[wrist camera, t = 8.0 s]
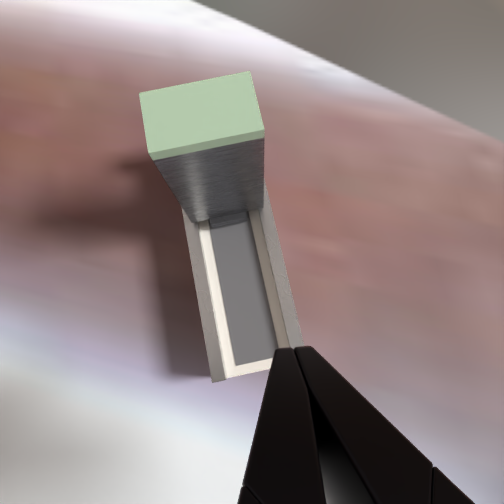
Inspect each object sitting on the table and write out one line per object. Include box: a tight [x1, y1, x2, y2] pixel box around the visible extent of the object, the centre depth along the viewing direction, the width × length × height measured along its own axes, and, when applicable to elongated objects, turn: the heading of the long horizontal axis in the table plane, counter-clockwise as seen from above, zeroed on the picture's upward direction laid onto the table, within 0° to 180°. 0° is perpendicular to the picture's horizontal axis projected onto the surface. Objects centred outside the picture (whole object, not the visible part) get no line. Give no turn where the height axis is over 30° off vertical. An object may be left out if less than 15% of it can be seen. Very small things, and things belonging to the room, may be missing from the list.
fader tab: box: [139, 71, 264, 229], centre depth 16 cm, size 3×4×8 cm
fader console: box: [182, 179, 304, 383], centre depth 20 cm, size 14×5×4 cm, turn 12°
